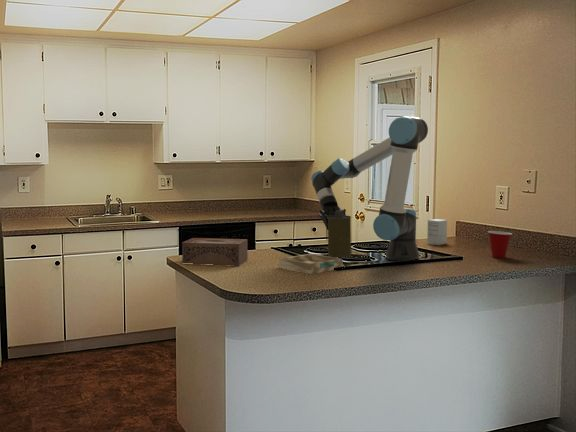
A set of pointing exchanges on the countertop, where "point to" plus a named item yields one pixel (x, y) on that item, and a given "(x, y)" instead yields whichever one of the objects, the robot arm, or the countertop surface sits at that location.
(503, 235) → the plastic cup
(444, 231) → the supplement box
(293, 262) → the square tray
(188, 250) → the tissue box cover
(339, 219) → the canister
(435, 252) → the countertop surface
